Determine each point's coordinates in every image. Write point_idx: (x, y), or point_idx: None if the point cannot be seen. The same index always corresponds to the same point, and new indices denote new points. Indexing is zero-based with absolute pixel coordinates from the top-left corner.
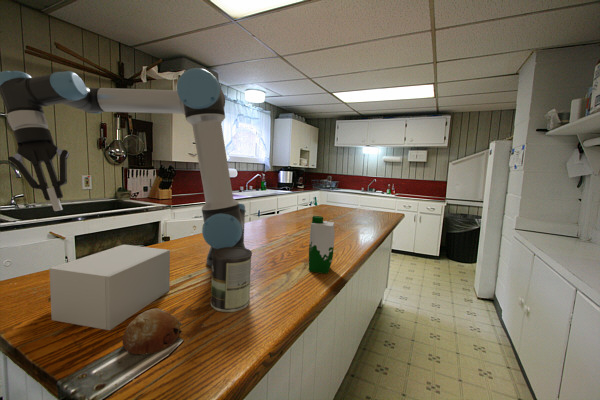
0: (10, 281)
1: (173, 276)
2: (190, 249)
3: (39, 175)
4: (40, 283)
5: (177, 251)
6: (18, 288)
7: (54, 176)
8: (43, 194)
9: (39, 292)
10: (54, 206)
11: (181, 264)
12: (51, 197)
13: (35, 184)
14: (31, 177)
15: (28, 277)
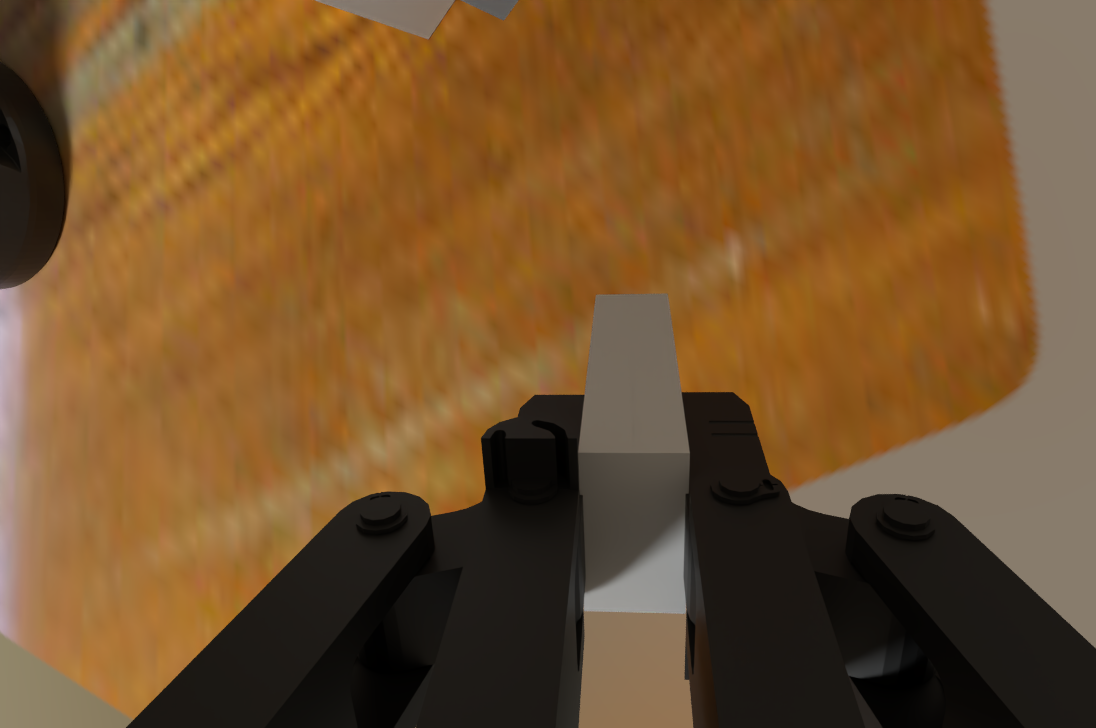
0: (1020, 360)
1: (212, 58)
2: (130, 499)
3: (786, 701)
4: (845, 241)
5: (191, 496)
6: (953, 202)
7: (464, 612)
8: (758, 442)
9: (829, 79)
10: (649, 314)
11: (175, 244)
12: (653, 371)
13: (878, 538)
14: (989, 715)
15: (928, 391)
